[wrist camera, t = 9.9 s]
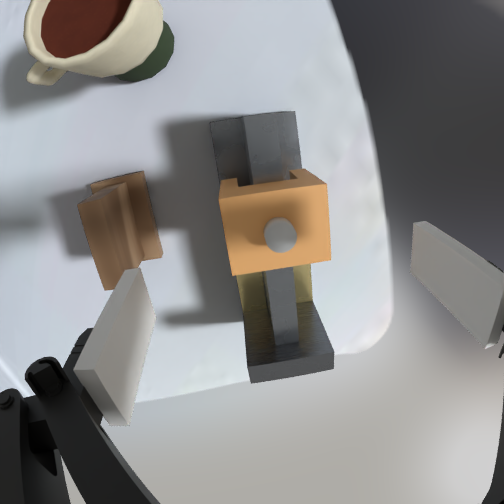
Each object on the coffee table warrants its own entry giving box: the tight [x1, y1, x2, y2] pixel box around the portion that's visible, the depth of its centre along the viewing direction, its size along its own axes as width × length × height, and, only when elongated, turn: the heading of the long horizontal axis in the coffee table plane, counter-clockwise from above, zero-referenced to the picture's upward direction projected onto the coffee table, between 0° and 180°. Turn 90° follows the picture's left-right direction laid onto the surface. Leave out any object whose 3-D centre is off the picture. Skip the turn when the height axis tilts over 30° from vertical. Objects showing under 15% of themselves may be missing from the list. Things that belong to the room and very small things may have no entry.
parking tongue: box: [77, 171, 163, 290], centre depth 25 cm, size 5×8×7 cm, turn 8°
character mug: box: [23, 0, 174, 86], centre depth 16 cm, size 11×7×13 cm, turn 126°
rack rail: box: [210, 111, 334, 383], centre depth 25 cm, size 7×20×9 cm, turn 8°
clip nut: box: [218, 169, 331, 276], centre depth 21 cm, size 6×5×7 cm
